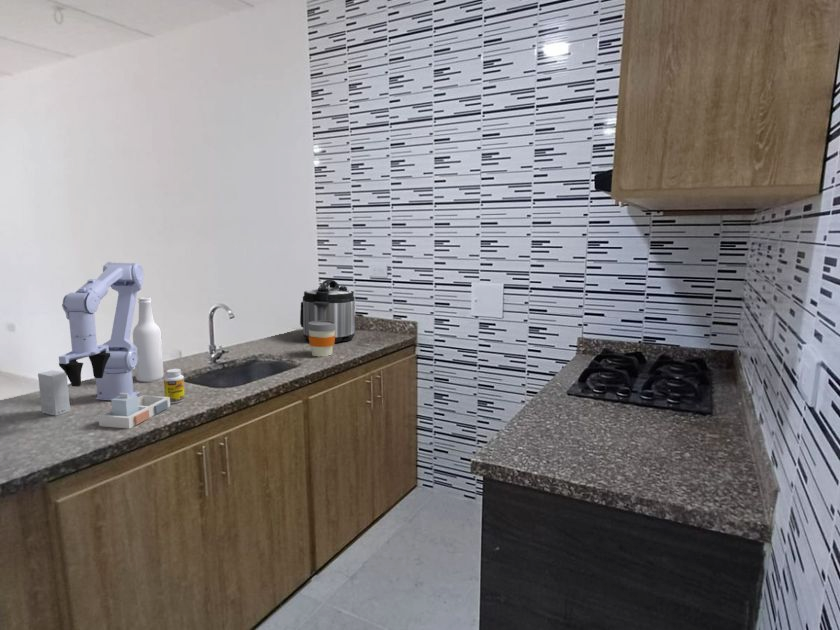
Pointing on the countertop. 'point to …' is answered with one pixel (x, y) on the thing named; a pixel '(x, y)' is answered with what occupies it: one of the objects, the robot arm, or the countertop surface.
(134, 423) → the white divided frame
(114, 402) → the plug
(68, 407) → the skincare box
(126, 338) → the robot arm
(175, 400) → the supplement bottle
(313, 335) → the reusable coffee cup
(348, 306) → the pressure cooker
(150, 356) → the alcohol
